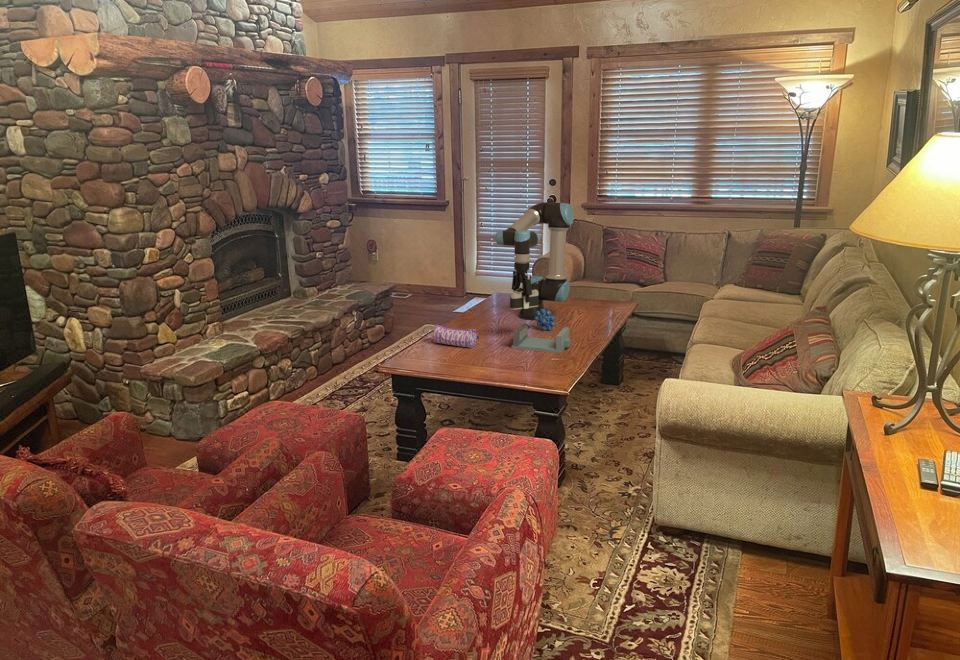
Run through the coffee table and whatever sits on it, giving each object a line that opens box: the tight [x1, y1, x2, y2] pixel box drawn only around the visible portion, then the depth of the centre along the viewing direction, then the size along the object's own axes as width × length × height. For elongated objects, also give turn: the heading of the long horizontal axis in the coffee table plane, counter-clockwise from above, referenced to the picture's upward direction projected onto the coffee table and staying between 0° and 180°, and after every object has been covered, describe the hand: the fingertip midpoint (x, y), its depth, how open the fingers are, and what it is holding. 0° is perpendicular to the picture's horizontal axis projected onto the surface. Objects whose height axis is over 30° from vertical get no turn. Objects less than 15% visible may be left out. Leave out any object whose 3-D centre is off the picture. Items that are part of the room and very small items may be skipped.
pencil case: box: [433, 324, 480, 349], centre depth 352 cm, size 22×9×10 cm, turn 68°
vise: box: [511, 326, 571, 354], centre depth 348 cm, size 16×27×8 cm, turn 70°
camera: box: [509, 286, 539, 310], centre depth 353 cm, size 16×9×10 cm, turn 117°
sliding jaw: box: [513, 323, 531, 346], centre depth 354 cm, size 22×3×7 cm, turn 160°
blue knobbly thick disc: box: [534, 308, 556, 332], centre depth 373 cm, size 12×7×12 cm, turn 69°
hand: (521, 306), depth 353 cm, fingers closed on camera, 9 cm apart
